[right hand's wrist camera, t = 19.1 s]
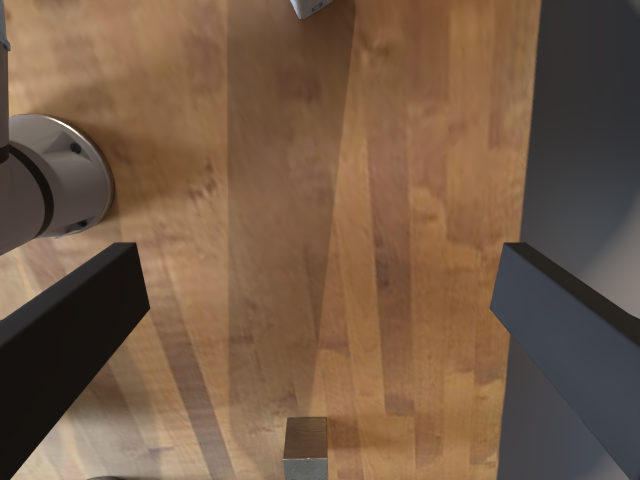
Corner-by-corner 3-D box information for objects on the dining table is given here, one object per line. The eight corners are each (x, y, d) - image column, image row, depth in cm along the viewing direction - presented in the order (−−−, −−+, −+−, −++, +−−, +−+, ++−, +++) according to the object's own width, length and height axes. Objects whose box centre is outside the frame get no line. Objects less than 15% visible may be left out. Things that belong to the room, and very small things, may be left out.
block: (327, 449, 64) (328, 492, 57) (290, 450, 64) (286, 493, 57) (326, 416, 61) (327, 458, 54) (287, 418, 61) (283, 459, 54)
